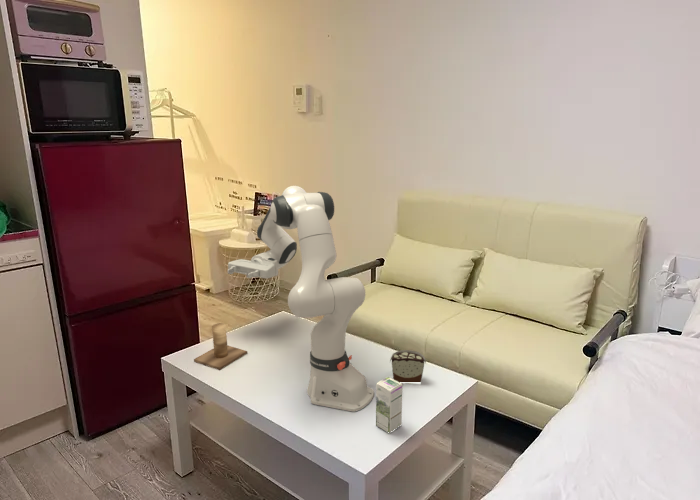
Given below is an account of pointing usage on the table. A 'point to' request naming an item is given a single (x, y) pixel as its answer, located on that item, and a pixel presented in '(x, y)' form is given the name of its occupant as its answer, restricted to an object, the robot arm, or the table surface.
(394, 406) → the syrup box
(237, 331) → the table surface
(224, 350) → the oak roller
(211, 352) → the board
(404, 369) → the muffin
